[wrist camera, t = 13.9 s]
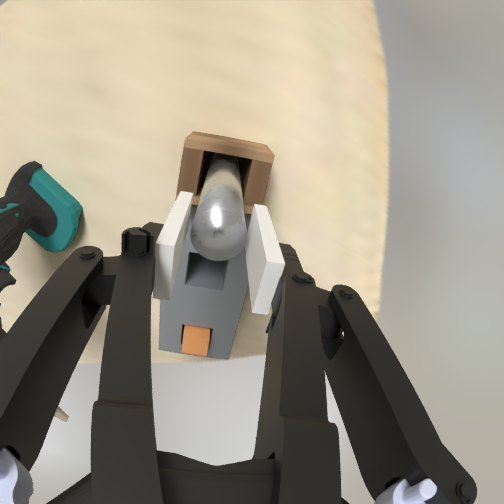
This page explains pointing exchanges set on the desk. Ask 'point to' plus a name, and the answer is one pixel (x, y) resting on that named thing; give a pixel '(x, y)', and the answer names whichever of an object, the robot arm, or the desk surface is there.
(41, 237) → the power drill
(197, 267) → the socket block
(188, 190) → the hollow brown square tube
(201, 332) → the plunger
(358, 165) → the desk surface
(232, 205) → the cylinder
